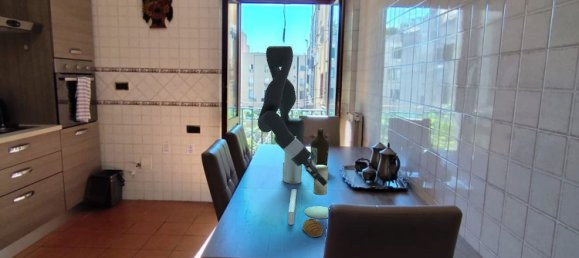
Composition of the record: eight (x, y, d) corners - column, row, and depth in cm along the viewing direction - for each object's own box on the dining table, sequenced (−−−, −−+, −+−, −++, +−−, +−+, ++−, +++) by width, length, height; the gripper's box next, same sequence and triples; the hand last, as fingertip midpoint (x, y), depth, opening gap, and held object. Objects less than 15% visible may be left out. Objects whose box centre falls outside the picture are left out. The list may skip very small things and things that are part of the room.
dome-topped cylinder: (310, 192, 146) (311, 166, 145) (319, 190, 150) (321, 164, 148) (320, 196, 142) (321, 169, 141) (329, 193, 146) (331, 167, 144)
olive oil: (321, 167, 217) (323, 126, 213) (331, 172, 208) (333, 129, 204) (306, 169, 212) (307, 127, 208) (315, 174, 203) (317, 130, 199)
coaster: (298, 211, 148) (298, 210, 148) (318, 205, 156) (318, 204, 156) (319, 221, 139) (319, 220, 139) (340, 213, 147) (340, 212, 147)
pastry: (326, 237, 126) (327, 227, 126) (308, 239, 124) (308, 229, 124) (318, 226, 135) (318, 216, 134) (300, 228, 133) (301, 218, 133)
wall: (291, 200, 161) (291, 189, 160) (295, 200, 161) (296, 189, 160) (288, 224, 135) (288, 211, 135) (293, 224, 135) (293, 212, 135)
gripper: (303, 149, 137) (333, 181, 138) (303, 142, 151) (331, 171, 152) (288, 162, 138) (318, 193, 139) (290, 154, 152) (317, 182, 153)
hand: (325, 182), depth 145 cm, fingers closed on dome-topped cylinder, 5 cm apart
